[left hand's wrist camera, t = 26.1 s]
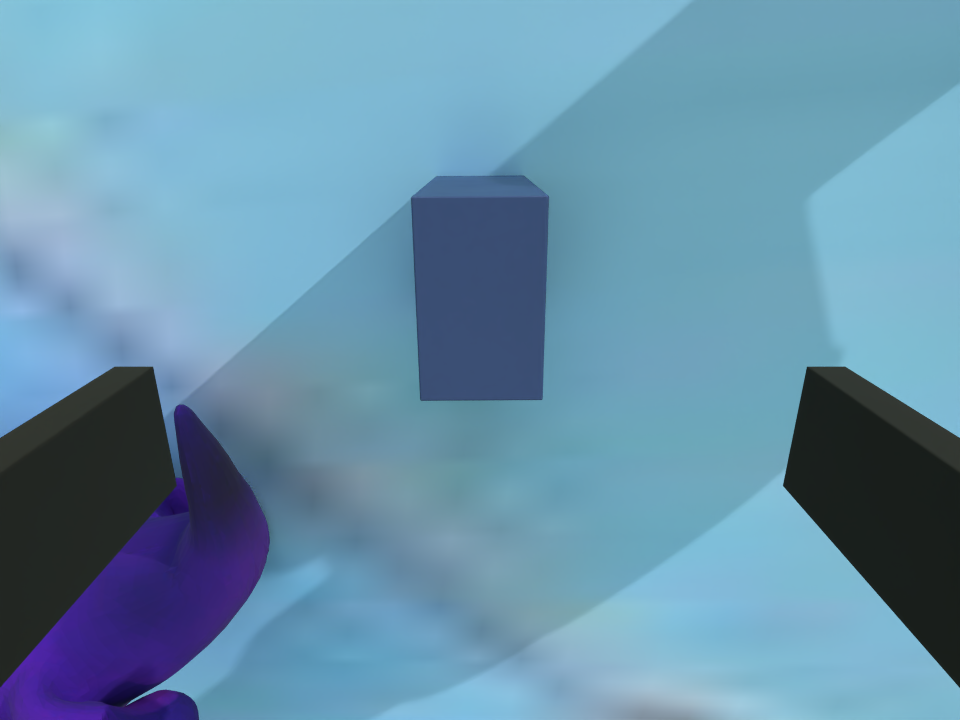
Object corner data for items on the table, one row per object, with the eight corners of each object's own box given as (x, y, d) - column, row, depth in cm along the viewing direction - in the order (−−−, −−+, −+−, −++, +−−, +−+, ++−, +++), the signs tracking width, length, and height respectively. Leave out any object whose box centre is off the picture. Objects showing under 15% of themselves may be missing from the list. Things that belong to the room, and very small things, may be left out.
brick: (522, 314, 34) (542, 400, 23) (440, 314, 34) (420, 401, 23) (524, 175, 31) (549, 195, 20) (435, 176, 31) (410, 196, 20)
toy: (390, 528, 39) (44, 586, 44) (255, 298, 29) (-169, 409, 34) (332, 829, 26) (-147, 859, 31) (52, 597, 16) (-576, 699, 21)
